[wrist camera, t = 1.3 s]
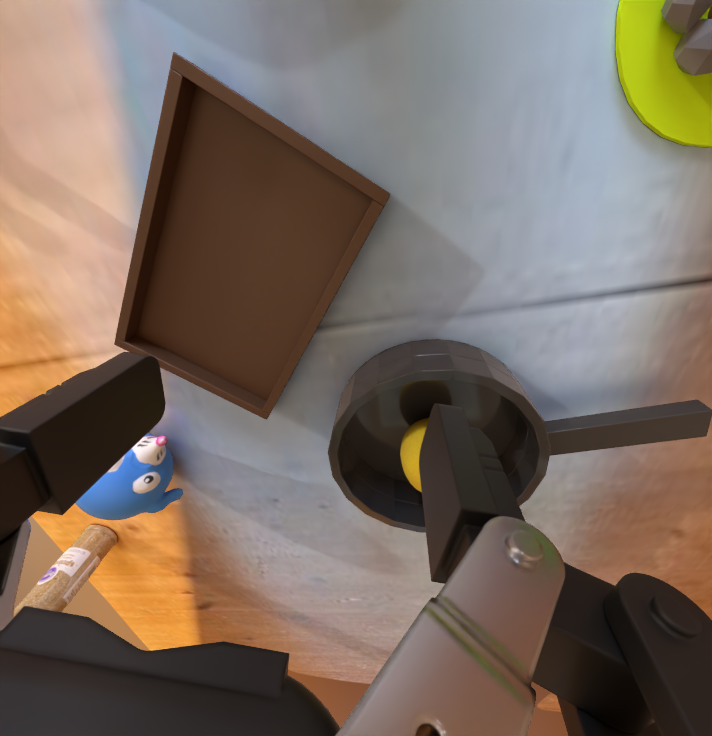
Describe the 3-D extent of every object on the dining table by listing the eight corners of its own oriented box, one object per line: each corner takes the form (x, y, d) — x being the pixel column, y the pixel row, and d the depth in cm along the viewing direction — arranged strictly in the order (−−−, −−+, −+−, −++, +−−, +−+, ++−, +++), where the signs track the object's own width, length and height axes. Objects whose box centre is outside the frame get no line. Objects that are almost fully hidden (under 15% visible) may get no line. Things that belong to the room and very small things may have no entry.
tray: (193, 63, 21) (172, 51, 19) (390, 193, 23) (390, 194, 21) (131, 334, 31) (113, 344, 29) (273, 406, 33) (266, 420, 31)
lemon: (393, 406, 31) (394, 470, 24) (454, 396, 30) (472, 460, 23) (405, 450, 34) (409, 519, 27) (461, 442, 32) (480, 513, 25)
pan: (402, 301, 27) (404, 325, 22) (568, 401, 29) (602, 442, 25) (309, 440, 35) (295, 481, 30) (446, 508, 38) (454, 555, 33)
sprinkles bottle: (98, 518, 45) (-7, 635, 33) (125, 537, 47) (35, 655, 35) (81, 529, 47) (-25, 644, 35) (108, 547, 48) (16, 663, 36)
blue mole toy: (233, 446, 36) (193, 512, 29) (175, 491, 41) (127, 558, 33) (139, 371, 33) (65, 424, 25) (87, 429, 37) (11, 489, 30)
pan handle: (537, 444, 28) (544, 456, 26) (537, 422, 27) (544, 433, 25) (691, 424, 25) (706, 436, 24) (697, 399, 24) (714, 410, 23)
